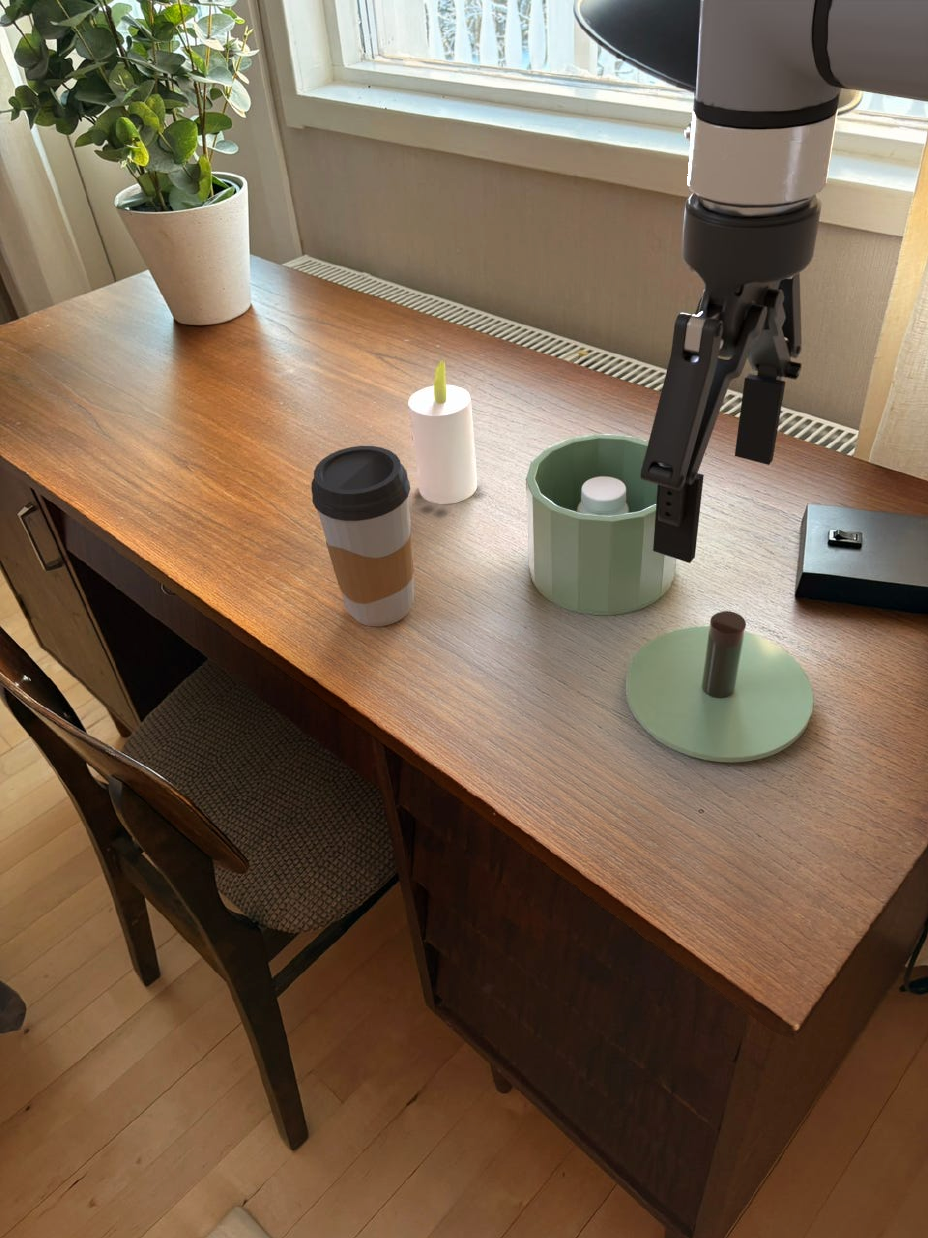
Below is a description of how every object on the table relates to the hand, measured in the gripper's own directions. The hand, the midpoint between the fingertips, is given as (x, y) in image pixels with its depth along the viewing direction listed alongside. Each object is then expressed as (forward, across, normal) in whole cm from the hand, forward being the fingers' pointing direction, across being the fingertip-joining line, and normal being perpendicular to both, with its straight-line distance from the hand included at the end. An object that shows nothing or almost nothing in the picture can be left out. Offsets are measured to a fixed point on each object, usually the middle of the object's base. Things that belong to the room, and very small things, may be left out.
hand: (715, 503), depth 67 cm
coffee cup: (+17, +7, -28) cm, 34 cm away
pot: (+17, -8, -13) cm, 23 cm away
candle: (+17, -12, -34) cm, 40 cm away
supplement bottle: (+16, -8, -14) cm, 23 cm away
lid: (+16, +2, +3) cm, 17 cm away
